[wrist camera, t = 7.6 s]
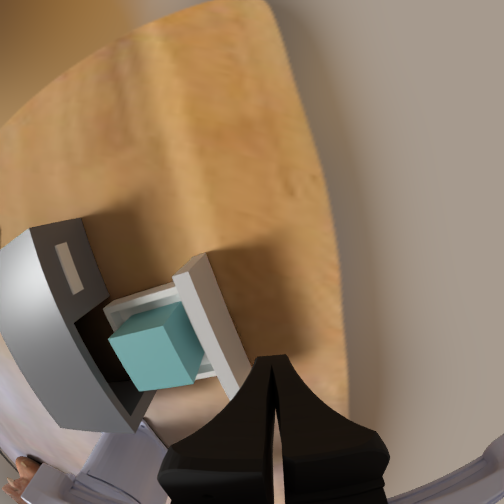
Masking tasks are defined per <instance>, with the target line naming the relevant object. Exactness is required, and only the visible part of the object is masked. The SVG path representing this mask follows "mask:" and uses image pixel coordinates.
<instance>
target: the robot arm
mask: <svg viewBox="0 0 504 504" xmlns="http://www.w3.org/2000/svg"><path fill="white" fill-rule="evenodd" d="M275 408H276V414H277V419H278V425H279V431H280V437H281V443H282V458H283V473H284V490H285V504H495V503H497V502H498V501H499V500H501V499H502V498H503V497H504V434H503V435H501V436H500V437H498V438H497V439H496V440H494V441H493V442H492V443H491V444H490V445H489V446H488V447H487V448H486V450H485V451H484V453H483V455H482V456H480V457H478V458H477V459H475V460H473V461H472V462H470V463H468V464H466V465H465V466H463V467H461V468H459V469H457V470H455V471H453V472H452V473H449V474H447V475H445V476H443V477H441V478H439V479H437V480H435V481H433V482H430V483H428V484H426V485H423V486H421V487H418V488H416V489H414V490H411V491H408V492H406V493H403V494H400V495H397V496H394V497H391V498H388V499H387V498H386V495H385V492H384V489H383V487H384V486H385V483H384V480H383V477H382V476H383V474H384V471H385V470H386V467H387V465H388V463H389V460H390V455H389V452H388V449H387V448H386V445H385V444H384V442H383V441H382V439H381V438H380V436H379V435H378V433H377V432H376V431H373V430H371V429H368V428H366V427H363V426H360V425H358V424H356V423H354V422H352V421H350V420H348V419H347V418H345V417H343V416H342V415H340V414H339V413H337V412H336V411H334V410H333V409H331V408H330V407H329V406H328V405H326V404H325V403H324V402H323V401H322V400H320V399H319V398H318V397H317V396H316V395H315V394H314V393H313V392H312V391H311V390H310V389H309V387H308V386H307V385H306V384H305V383H304V382H303V380H302V379H301V378H300V376H299V375H298V374H297V372H296V371H295V369H294V368H293V366H292V364H291V362H290V360H289V358H288V356H287V355H286V354H284V355H273V356H260V357H257V358H256V359H255V362H254V364H253V367H252V369H251V371H250V373H249V375H248V376H247V378H246V380H245V381H244V383H243V385H242V386H241V388H240V389H239V390H238V392H237V393H236V395H235V396H234V397H233V399H232V400H231V401H230V402H229V403H228V404H227V406H226V407H225V408H224V409H223V410H222V411H221V412H220V413H219V414H218V415H217V416H216V417H214V418H213V419H212V420H211V421H210V422H209V423H207V424H206V425H205V426H203V427H202V428H201V429H199V430H198V431H196V432H195V433H193V434H192V435H190V436H188V437H186V438H185V439H183V440H181V441H179V442H177V443H175V444H173V445H171V446H170V447H169V449H167V448H166V447H165V445H164V444H163V443H162V442H161V441H160V439H159V438H158V437H157V436H156V435H155V433H154V432H153V431H152V429H151V428H150V427H149V426H148V424H147V423H146V422H145V421H144V420H143V419H142V421H141V423H140V425H139V427H138V429H137V431H136V433H135V434H129V433H105V432H101V433H102V435H101V437H100V439H99V440H98V442H97V444H96V445H95V447H94V449H93V450H92V452H91V454H90V455H89V457H88V459H87V461H86V462H85V464H84V466H83V467H82V469H81V471H80V473H79V474H78V475H77V476H76V477H75V475H74V474H72V473H69V474H68V473H66V474H65V473H63V472H62V471H60V470H58V469H56V468H54V467H52V466H50V465H48V464H46V463H42V465H41V466H40V468H39V469H38V471H37V472H36V474H35V475H34V477H33V478H32V480H31V481H30V483H29V484H28V486H27V487H26V489H25V490H24V492H23V493H22V495H21V498H22V499H23V500H24V501H25V502H26V503H27V504H165V503H166V500H167V497H168V496H169V497H170V498H171V503H170V504H274V486H273V454H272V453H273V436H274V423H275Z"/></svg>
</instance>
